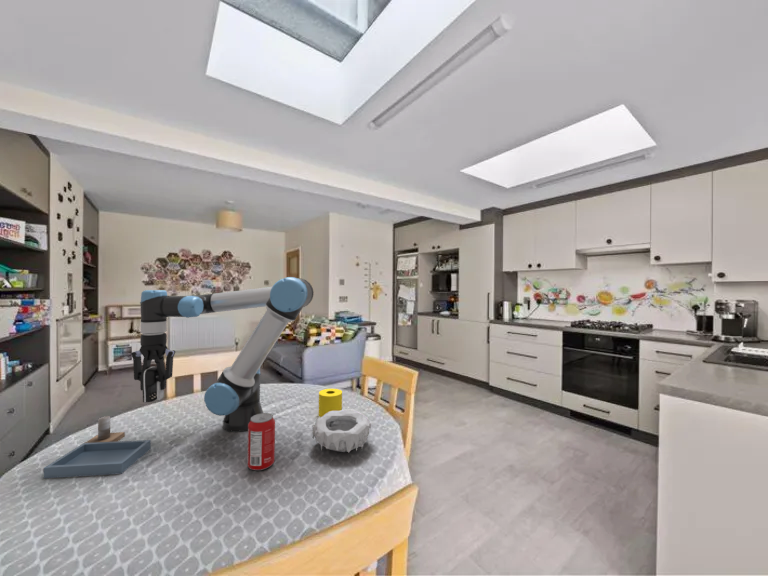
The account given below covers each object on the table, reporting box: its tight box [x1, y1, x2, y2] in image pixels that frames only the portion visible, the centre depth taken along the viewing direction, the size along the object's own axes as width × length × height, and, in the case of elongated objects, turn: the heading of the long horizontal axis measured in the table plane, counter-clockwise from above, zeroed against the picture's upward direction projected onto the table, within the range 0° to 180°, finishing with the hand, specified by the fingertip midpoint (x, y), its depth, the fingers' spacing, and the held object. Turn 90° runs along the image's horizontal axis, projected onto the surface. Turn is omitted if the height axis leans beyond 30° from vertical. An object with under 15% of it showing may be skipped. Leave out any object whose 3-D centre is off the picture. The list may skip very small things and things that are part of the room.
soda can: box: [247, 412, 276, 471], centre depth 97 cm, size 8×8×15 cm
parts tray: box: [43, 439, 152, 479], centre depth 97 cm, size 20×14×3 cm
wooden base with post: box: [84, 415, 126, 443], centre depth 109 cm, size 8×8×9 cm
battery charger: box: [141, 366, 159, 403], centre depth 112 cm, size 7×4×11 cm, turn 7°
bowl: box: [311, 408, 372, 454], centre depth 109 cm, size 21×20×10 cm
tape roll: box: [318, 388, 343, 417], centre depth 136 cm, size 10×10×9 cm
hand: (153, 398), depth 112 cm, fingers closed on battery charger, 4 cm apart
